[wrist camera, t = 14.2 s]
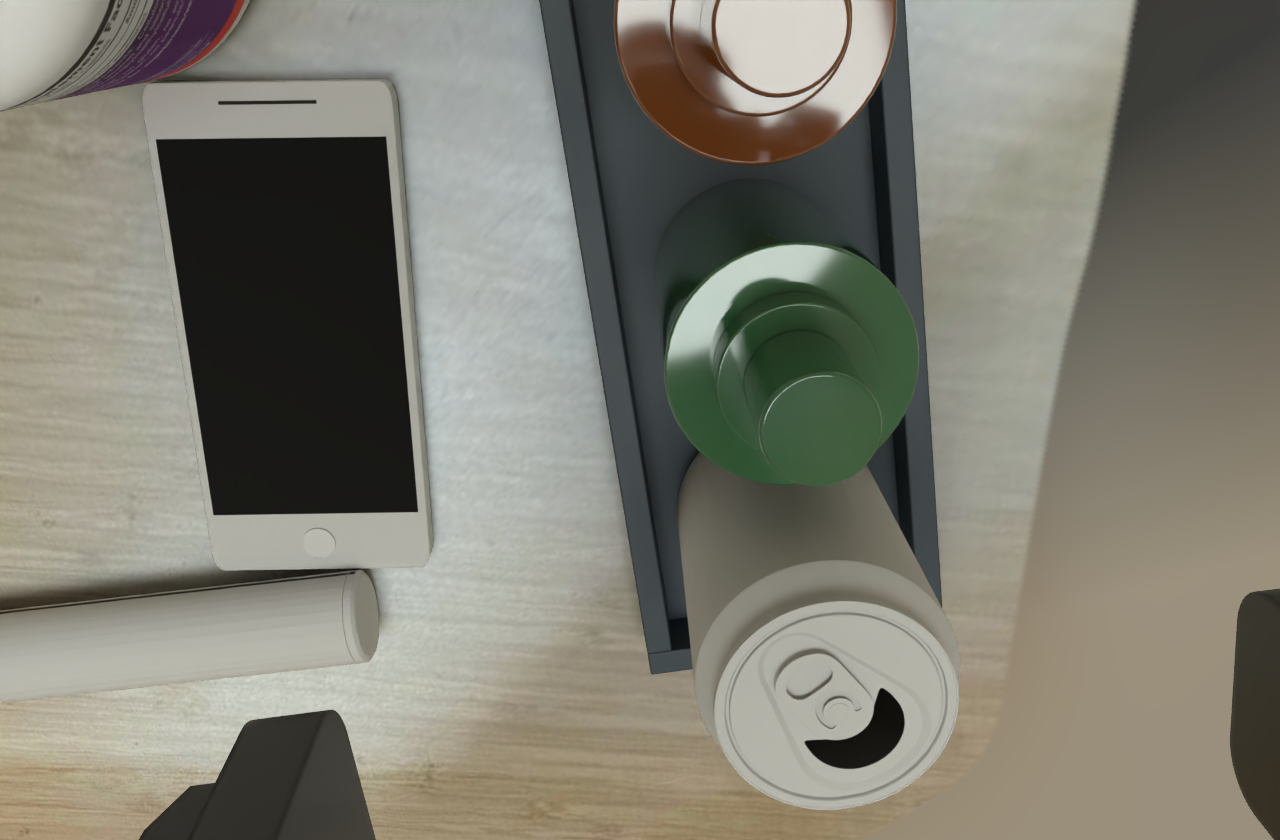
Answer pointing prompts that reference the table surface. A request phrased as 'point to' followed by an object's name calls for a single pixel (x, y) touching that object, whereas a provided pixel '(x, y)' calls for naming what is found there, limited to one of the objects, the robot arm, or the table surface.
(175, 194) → the smartphone
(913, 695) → the beverage can
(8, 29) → the pill bottle
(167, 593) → the tube
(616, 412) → the tray
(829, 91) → the amber bottle
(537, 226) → the table surface
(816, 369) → the green bottle
